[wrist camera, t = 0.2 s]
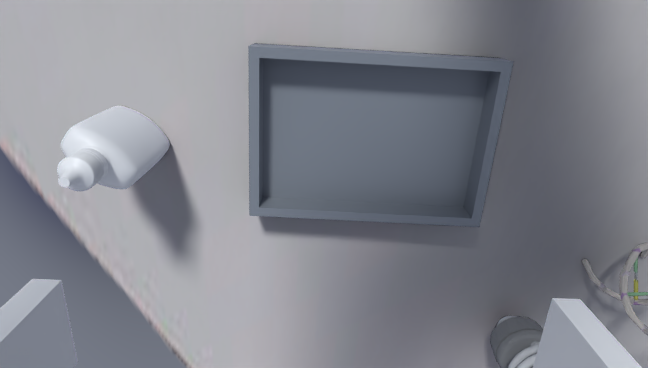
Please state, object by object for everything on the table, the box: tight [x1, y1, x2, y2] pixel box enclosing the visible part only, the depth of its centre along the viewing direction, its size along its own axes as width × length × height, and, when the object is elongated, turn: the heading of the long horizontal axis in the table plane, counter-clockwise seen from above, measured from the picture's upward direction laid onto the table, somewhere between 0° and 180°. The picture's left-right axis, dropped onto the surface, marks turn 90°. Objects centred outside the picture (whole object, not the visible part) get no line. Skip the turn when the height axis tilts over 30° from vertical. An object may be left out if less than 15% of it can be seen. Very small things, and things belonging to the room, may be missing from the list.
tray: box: [249, 43, 513, 227], centre depth 37 cm, size 14×20×3 cm
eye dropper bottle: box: [57, 106, 170, 191], centre depth 33 cm, size 4×6×12 cm
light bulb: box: [490, 316, 543, 368], centre depth 40 cm, size 6×6×12 cm
